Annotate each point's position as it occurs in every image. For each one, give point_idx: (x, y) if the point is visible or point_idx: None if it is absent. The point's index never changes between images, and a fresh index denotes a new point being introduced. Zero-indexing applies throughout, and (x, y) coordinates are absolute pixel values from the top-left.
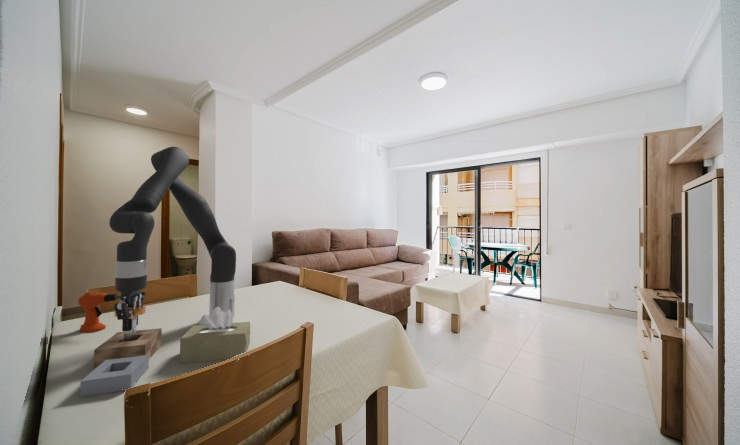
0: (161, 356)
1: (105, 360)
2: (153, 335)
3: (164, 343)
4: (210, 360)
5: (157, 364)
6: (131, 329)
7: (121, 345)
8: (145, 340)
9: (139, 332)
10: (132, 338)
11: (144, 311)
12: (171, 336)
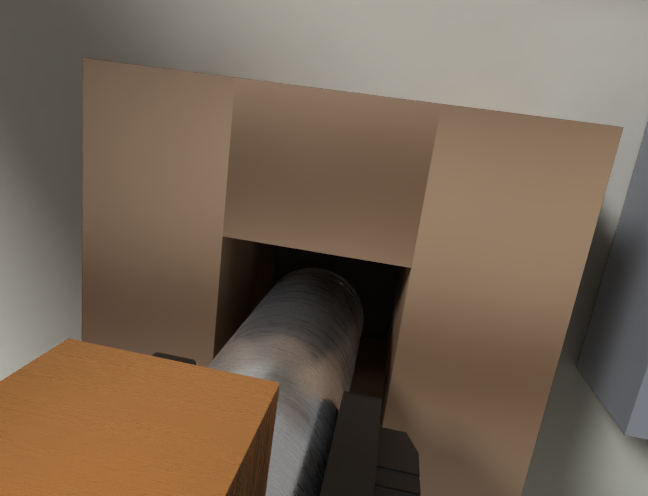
0: (445, 17)
1: (639, 433)
2: (320, 100)
3: (153, 61)
4: None
5: (616, 10)
6: (363, 395)
7: (505, 385)
8: (469, 159)
9: (155, 290)
10: (340, 321)
11: (101, 383)
12: (9, 34)
